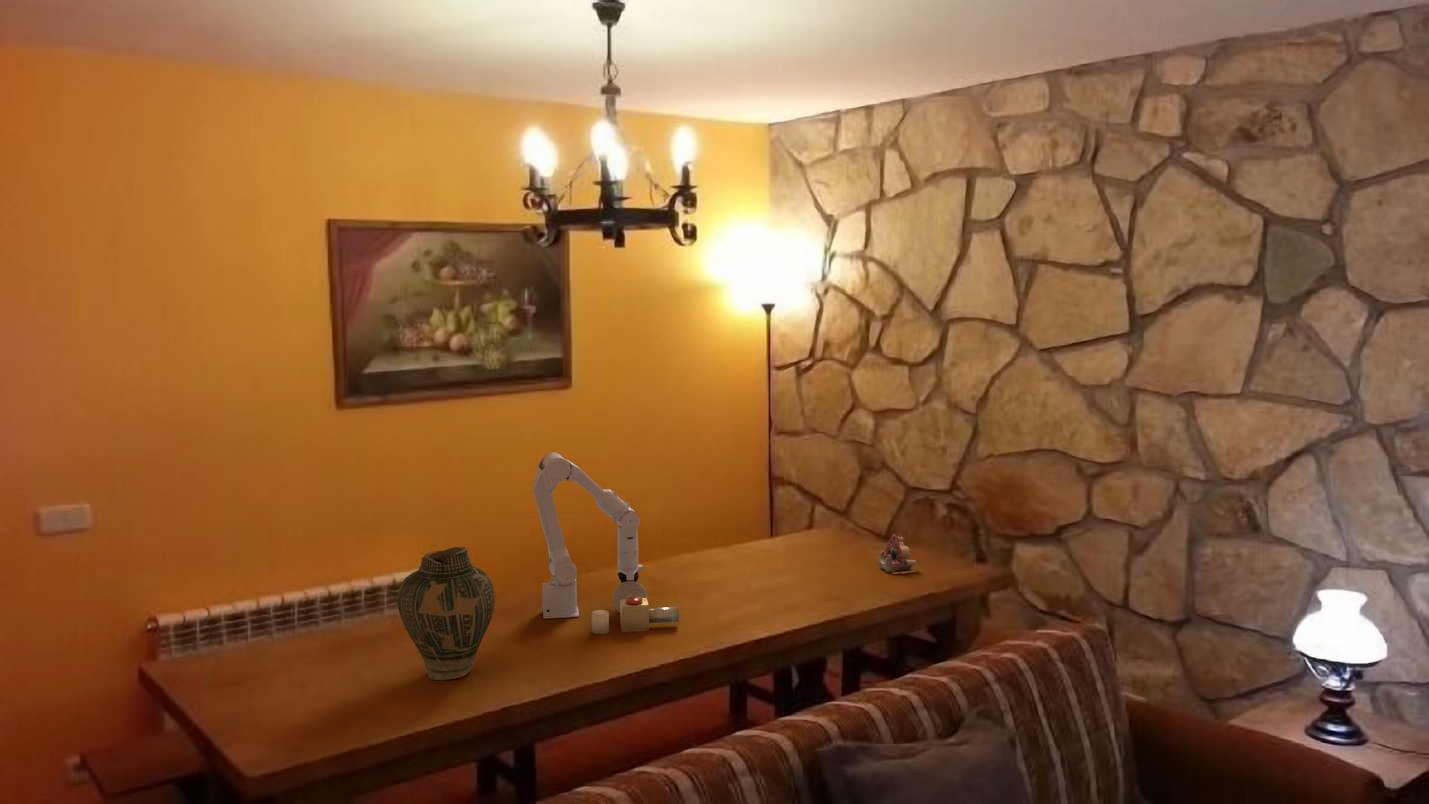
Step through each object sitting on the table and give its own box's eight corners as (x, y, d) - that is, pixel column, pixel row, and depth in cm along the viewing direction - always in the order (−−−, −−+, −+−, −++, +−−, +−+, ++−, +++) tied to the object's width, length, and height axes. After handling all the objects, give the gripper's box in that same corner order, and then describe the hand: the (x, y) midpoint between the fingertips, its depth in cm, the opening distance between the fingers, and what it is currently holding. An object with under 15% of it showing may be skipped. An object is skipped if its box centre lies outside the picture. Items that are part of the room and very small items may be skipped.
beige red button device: (622, 632, 298) (621, 603, 297) (618, 618, 309) (618, 590, 308) (679, 629, 300) (679, 600, 299) (674, 615, 311) (673, 587, 310)
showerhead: (611, 613, 309) (614, 578, 314) (611, 621, 315) (614, 587, 320) (646, 616, 309) (648, 580, 314) (645, 624, 316) (647, 589, 320)
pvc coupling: (592, 634, 297) (592, 615, 296) (591, 628, 301) (591, 610, 300) (609, 633, 297) (609, 614, 297) (608, 628, 302) (608, 609, 301)
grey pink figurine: (866, 558, 358) (887, 526, 359) (890, 576, 362) (912, 545, 363) (883, 568, 348) (905, 535, 349) (908, 586, 351) (930, 554, 352)
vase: (516, 672, 271) (513, 548, 266) (437, 699, 254) (432, 568, 250) (460, 650, 285) (456, 532, 281) (381, 675, 269) (376, 550, 265)
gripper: (644, 557, 310) (645, 605, 312) (639, 543, 325) (640, 589, 326) (618, 558, 309) (619, 606, 311) (614, 544, 323) (615, 591, 325)
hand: (628, 598), depth 319 cm, fingers closed
